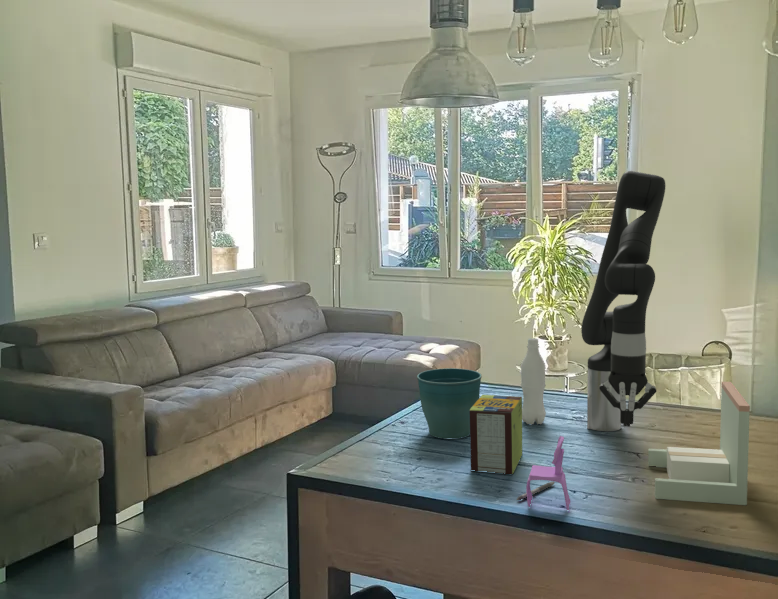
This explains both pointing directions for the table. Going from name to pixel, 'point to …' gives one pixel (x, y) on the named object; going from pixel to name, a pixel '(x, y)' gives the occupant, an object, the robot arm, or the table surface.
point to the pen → (537, 490)
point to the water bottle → (533, 384)
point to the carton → (697, 464)
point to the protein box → (496, 433)
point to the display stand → (733, 447)
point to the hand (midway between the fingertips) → (626, 425)
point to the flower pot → (448, 400)
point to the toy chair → (550, 473)
